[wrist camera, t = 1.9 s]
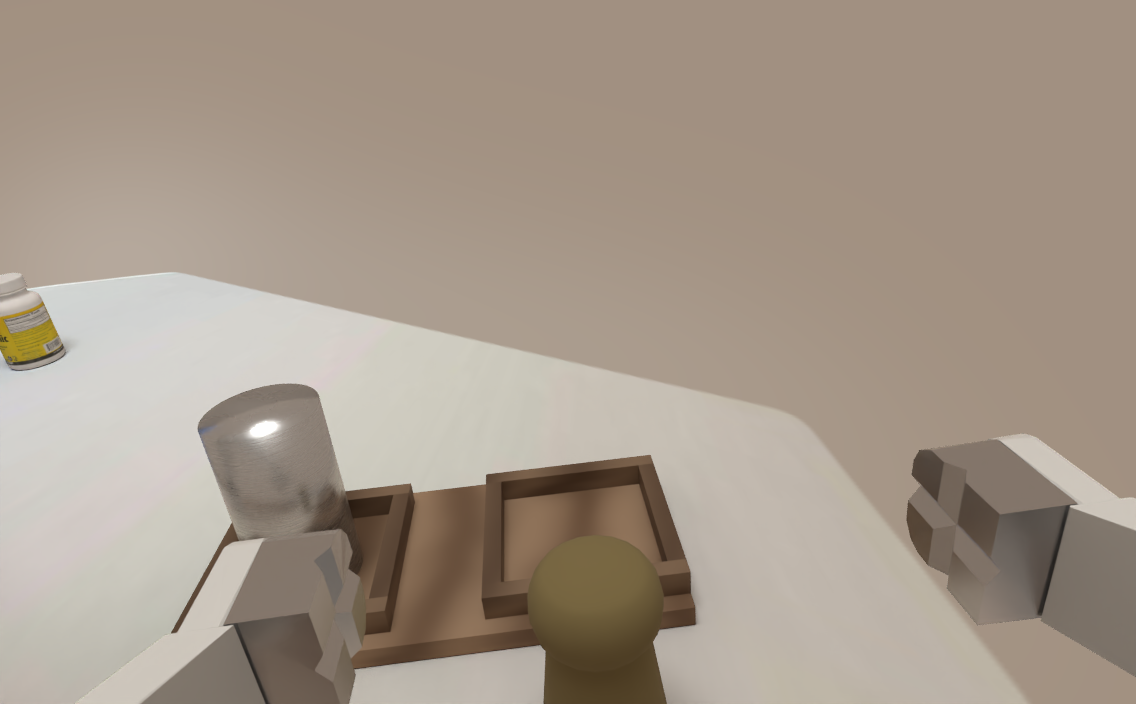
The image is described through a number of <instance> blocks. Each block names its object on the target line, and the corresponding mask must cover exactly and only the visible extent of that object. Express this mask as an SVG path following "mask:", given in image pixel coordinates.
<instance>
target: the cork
mask: <svg viewBox="0 0 1136 704" xmlns="http://www.w3.org/2000/svg"><path fill="white" fill-rule="evenodd" d="M527 600H528V615H529V621H530V624H531V626H532V628H533V630H534V632H535V634H536V637H537V639H538V640H539V642H540V644H541V646H542V648H543V649H544V650H545V651H546V658H545V683H544V704H667V703H666V698H665V694H664V689H663V685H662V680H661V676H660V671H659V667H658V663H657V658H656V654H655V649H654V645H653V641H654V639H655V637H656V636H657V634H658V631H659V628H660V625H661V622H662V615H663V608H664V594H663V590H662V587H661V583H660V580H659V577H658V574H657V571H656V568H655V567H654V566H653V565H652V563H651V562H650V561H649V560H648V558H647V557H646V556H645V555H644V554H643V553H642V552H641V551H640V550H639V549H638V548H636V547H635V546H633V545H632V544H630V543H629V542H627V541H624V540H621V539H618V538H615V537H612V536H601V535H591V536H583V537H577V538H574V539H571V540H569V541H566V542H563V543H561V544H560V545H558V546H557V547H555V548H554V549H552V550H551V551H549V552H548V553H547V555H546V556H545V557H544V558H543V559H542V560H541V562H540V563H539V564H538V566H537V567H536V569H535V570H534V573H533V576H532V578H531V581H530V584H529V588H528V594H527Z"/></svg>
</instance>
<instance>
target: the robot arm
mask: <svg viewBox="0 0 1136 704" xmlns="http://www.w3.org/2000/svg"><path fill="white" fill-rule="evenodd" d="M912 476H913V477H914V478H915V480H916V481H917V482H918V484H919V485H920V487H919V488H918V489H917V491H916V492H915V493H914V494H913V495H912V497H911V498H910V499H909V500H908V510H907V524H908V528H909V533H910V537H911V540H912V542H913V544H914V546H915V548H916V550H917V552H918V553H919V555H920V556H921V557H922V558H923V560H924V561H925V562H926V564H927V565H928V566H930V567H932V568H934V569H936V570H939V571H941V572H943V573H945V574H947V575H948V583H947V589H948V590H949V592H950V593H951V594H952V595H953V596H954V598H955V599H956V600H957V601H958V603H959V604H960V605H961V606H962V607H963V609H964V610H965V611H966V612H967V613H968V614H969V616H970V617H971V618H972V619H973V621H974V622H975V623H976V624H977V625H984V624H992V623H1001V622H1009V621H1018V620H1026V619H1034V618H1041V621H1042V622H1043V623H1045V624H1047V625H1048V626H1050V627H1052V628H1054V629H1055V630H1057V631H1059V632H1060V633H1062V634H1064V635H1065V636H1067V637H1069V638H1070V639H1072V640H1074V641H1076V642H1077V643H1079V644H1081V645H1082V646H1084V647H1086V648H1087V649H1089V650H1091V651H1092V652H1094V653H1096V654H1098V655H1099V656H1101V657H1103V658H1104V659H1106V660H1108V661H1109V662H1111V663H1113V664H1114V665H1116V666H1118V667H1120V668H1121V669H1123V670H1125V671H1126V672H1128V673H1130V674H1131V675H1133V676H1135V677H1136V499H1135V498H1132V497H1131V498H1123V499H1120V498H1118V497H1117V496H1116V495H1114V494H1113V493H1111V492H1110V491H1109V490H1107V489H1106V488H1105V487H1103V486H1102V485H1101V484H1099V483H1098V482H1096V481H1095V480H1094V479H1092V478H1091V477H1090V476H1088V475H1087V474H1086V473H1084V472H1083V471H1081V470H1080V469H1079V468H1077V467H1076V466H1075V465H1073V464H1072V463H1070V462H1069V461H1068V460H1066V459H1065V458H1064V457H1062V456H1061V455H1060V454H1058V453H1057V452H1055V451H1054V450H1053V449H1051V448H1050V447H1049V446H1047V445H1046V444H1044V443H1043V442H1042V441H1040V440H1039V439H1038V438H1036V437H1034V436H1030V435H1027V434H1024V433H1022V434H1016V435H1010V436H1005V437H998V438H993V439H988V440H987V441H981V442H974V443H966V444H960V445H952V446H946V447H938V448H931V449H925V450H919V452H918V454H917V455H916V457H915V459H914V463H913V469H912ZM352 553H353V552H352V549H351V546H350V543H349V540H348V537H347V534H346V533H345V532H344V531H342V530H341V529H336V530H328V531H319V532H310V533H302V534H293V535H284V536H276V537H269V538H260V539H253V540H245V541H238V542H232V543H231V544H229V545H227V546H226V547H224V549H223V550H222V552H221V554H220V556H219V558H218V559H217V561H216V563H215V565H214V567H213V568H212V570H211V572H210V574H209V576H208V577H207V579H206V581H205V583H204V585H203V587H202V588H201V590H200V592H199V594H198V596H197V597H196V599H195V601H194V603H193V605H192V607H191V608H190V610H189V612H188V614H187V616H186V617H185V619H184V621H183V623H182V625H181V627H180V628H179V630H178V632H177V633H172V634H166V635H164V636H163V637H161V638H160V639H159V640H157V641H156V642H155V643H153V644H152V645H151V646H149V647H148V648H147V649H145V650H144V651H143V652H141V653H140V654H139V655H137V656H136V657H135V658H134V659H132V660H131V661H130V662H128V663H127V664H126V665H124V666H123V667H122V668H120V669H119V670H118V671H116V672H115V673H114V674H112V675H111V676H110V677H108V678H107V679H106V680H104V681H103V682H102V683H101V684H99V685H98V686H97V687H95V688H94V689H93V690H91V691H90V692H89V693H87V694H86V695H85V696H83V697H82V698H81V699H79V700H78V701H77V702H75V703H74V704H349V701H350V697H351V693H352V689H353V684H354V680H355V676H356V674H355V671H354V668H353V665H352V661H351V658H352V657H353V656H354V655H355V654H356V653H357V652H358V651H359V650H360V649H361V648H362V645H363V640H364V635H365V630H366V603H365V595H364V590H363V586H362V583H361V579H360V577H359V576H358V575H356V574H355V573H353V572H352V571H351V570H349V569H348V568H349V564H350V560H351V557H352Z"/></svg>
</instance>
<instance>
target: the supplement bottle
mask: <svg viewBox="0 0 1136 704" xmlns="http://www.w3.org/2000/svg"><path fill="white" fill-rule="evenodd" d="M26 287H27V285H26V282H25V280H24V278H23V275H22V274H20V273H10V274H3V275H0V350H1V352H2V354H3V356H4V358H5V360H6V362H7V364H8V366H9V367H10V368H12V369H15V370H27V369H32V368H36V367H40V366H43V365H46V364H49V363H51V362H53V361H55V360H57V359H59V358H60V357H62V356H63V355H64V353H65V349H64V346H63V344H62V342H61V340H60V338H59V335H58V333H57V331H56V329H55V327H54V325H53V322H52V320H51V318H50V316H49V314H48V312H47V309H46V307H45V305H44V303H43V301H42V298H41V297H40V295H39V294H38V293H36V292H33V291H27V290H26Z"/></svg>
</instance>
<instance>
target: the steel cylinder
mask: <svg viewBox="0 0 1136 704" xmlns="http://www.w3.org/2000/svg"><path fill="white" fill-rule="evenodd" d="M198 432H199V435H200V438H201V440H202V443H203V446H204V448H205V451H206V454H207V456H208V459H209V462H210V464H211V467H212V470H213V472H214V475H215V478H216V480H217V483H218V486H219V489H220V491H221V494H222V497H223V499H224V502H225V505H226V507H227V510H228V513H229V515H230V518H231V521H232V523H233V526H234V529H235V531H236V534H237V537H238V539H239V541H245V540H253V539H260V538H269V537H276V536H284V535H293V534H302V533H310V532H319V531H328V530H336V529H341V530H342V531H344V532H345V533H346V534H347V537H348V540H349V543H350V546H351V549H352V552H353V553H352V557H351V560H350V564H349V568H348V569H349V570H351V571H352V572H353V573H355V574H356V575H357V574H358V573H359V571H360V569H361V566H362V562H363V554H362V550H361V546H360V543H359V539H358V536H357V532H356V528H355V525H354V521H353V517H352V514H351V510H350V507H349V503H348V499H347V496H346V492H345V489H344V485H343V481H342V478H341V474H340V471H339V467H338V463H337V460H336V456H335V452H334V449H333V445H332V442H331V438H330V434H329V431H328V427H327V424H326V420H325V416H324V413H323V409H322V406H321V402H320V398H319V395H318V393H317V392H316V391H315V390H314V389H313V388H311V387H308V386H305V385H300V384H277V385H270V386H264V387H260V388H256V389H252V390H249V391H246V392H243V393H240V394H238V395H235V396H233V397H231V398H229V399H227V400H225V401H223V402H221V403H219V404H218V405H216V406H215V407H213V408H212V409H211V410H209V411H208V412H207V413H206V414H205V415H204V416H203V417H202V419H201V420H200V422H199V424H198Z"/></svg>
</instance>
